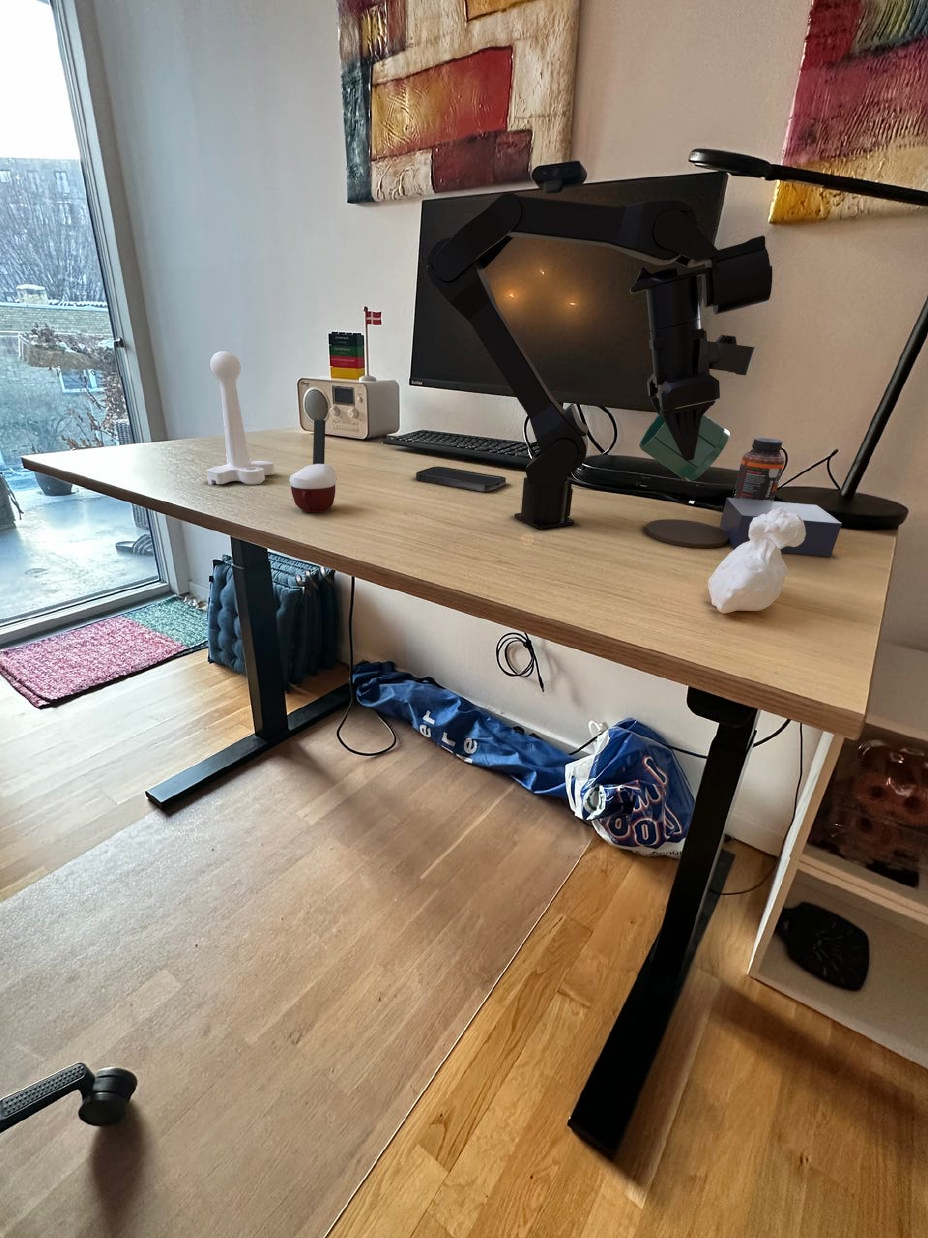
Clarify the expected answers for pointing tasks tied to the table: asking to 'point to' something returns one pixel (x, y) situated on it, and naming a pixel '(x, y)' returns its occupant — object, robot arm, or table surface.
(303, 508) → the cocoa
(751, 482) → the supplement bottle
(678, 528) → the coaster
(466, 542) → the table surface
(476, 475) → the phone
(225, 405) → the joystick
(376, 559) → the table surface
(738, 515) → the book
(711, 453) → the cup
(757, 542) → the white tied sack
